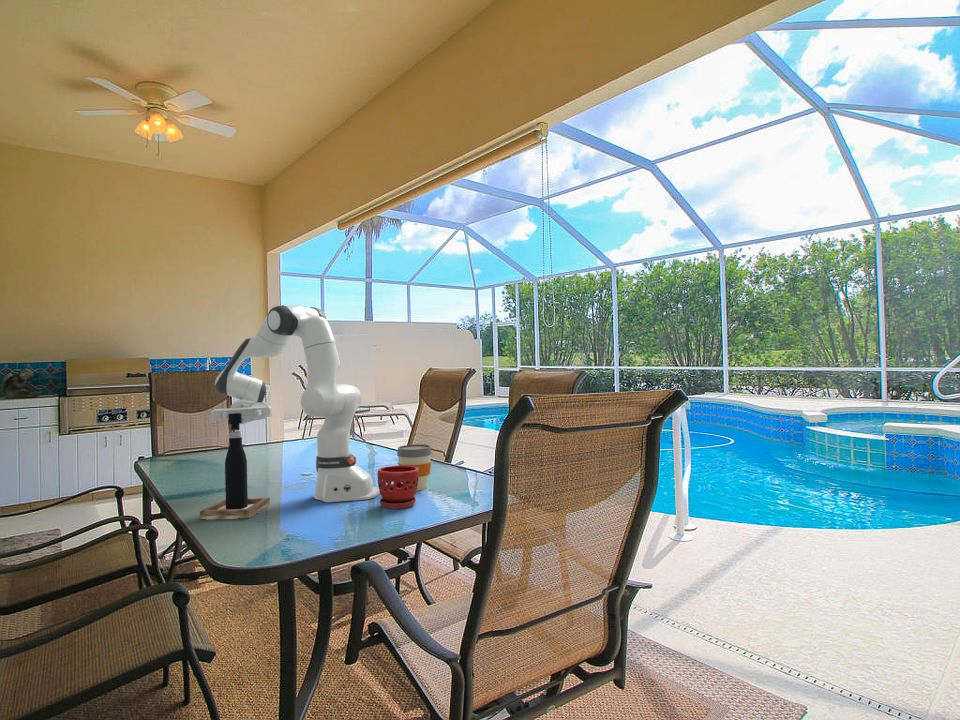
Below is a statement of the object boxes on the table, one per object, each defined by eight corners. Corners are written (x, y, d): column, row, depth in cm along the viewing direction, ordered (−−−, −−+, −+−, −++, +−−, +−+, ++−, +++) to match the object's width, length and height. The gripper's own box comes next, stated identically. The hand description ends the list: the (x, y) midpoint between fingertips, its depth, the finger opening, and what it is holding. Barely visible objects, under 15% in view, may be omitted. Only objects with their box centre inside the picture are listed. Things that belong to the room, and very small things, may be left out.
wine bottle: (252, 505, 169) (250, 412, 170) (236, 510, 164) (234, 414, 164) (237, 503, 172) (235, 412, 172) (221, 509, 166) (219, 414, 166)
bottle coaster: (269, 505, 173) (269, 497, 173) (249, 518, 158) (248, 510, 158) (225, 506, 174) (224, 498, 174) (200, 519, 159) (199, 511, 159)
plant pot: (413, 511, 162) (412, 472, 162) (372, 510, 163) (371, 472, 163) (423, 499, 175) (422, 463, 175) (385, 499, 176) (384, 464, 176)
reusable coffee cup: (430, 491, 186) (429, 449, 186) (395, 492, 186) (394, 450, 186) (434, 483, 198) (433, 443, 198) (401, 484, 198) (400, 444, 198)
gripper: (210, 405, 194) (208, 407, 182) (270, 401, 203) (272, 403, 190) (211, 422, 194) (209, 425, 182) (270, 418, 203) (272, 420, 190)
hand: (241, 414), depth 186 cm, fingers open, 8 cm apart
